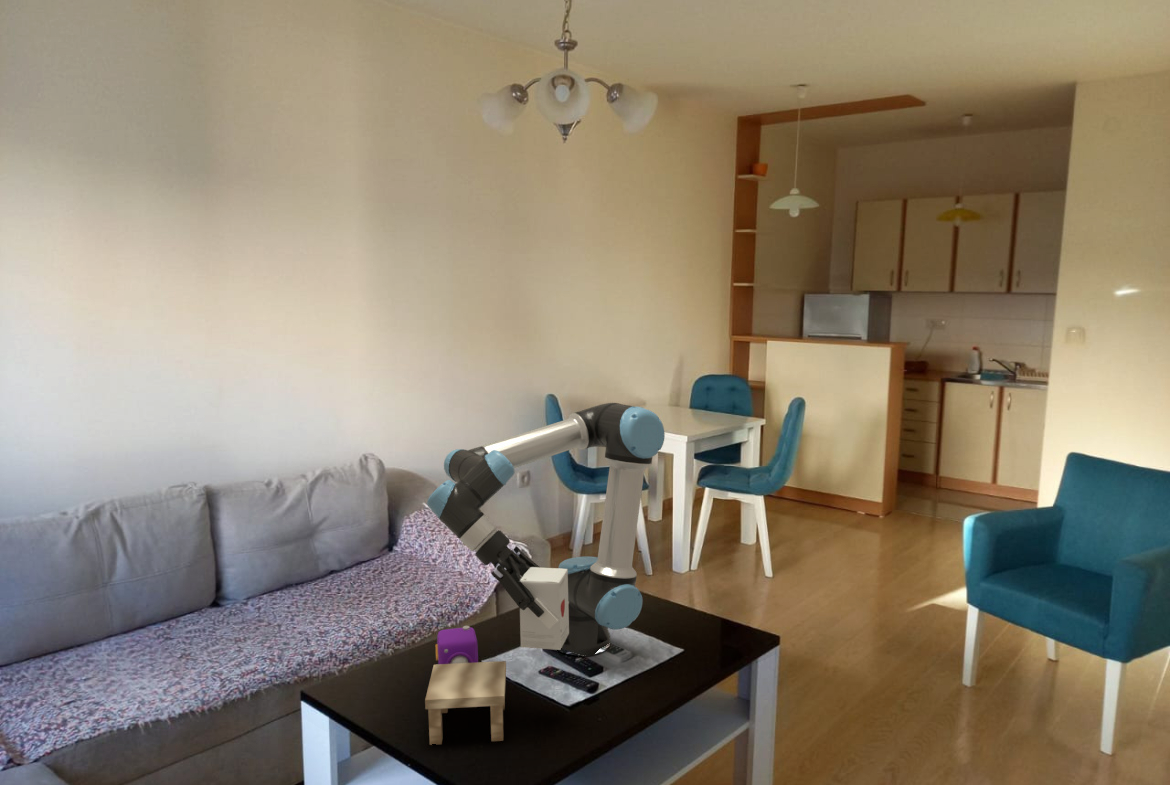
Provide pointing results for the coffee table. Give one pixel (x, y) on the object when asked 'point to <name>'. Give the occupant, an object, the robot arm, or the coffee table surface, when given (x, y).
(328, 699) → the coffee table surface
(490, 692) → the low wooden platform
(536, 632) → the supplement box
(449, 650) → the toy camera
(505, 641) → the coffee table surface
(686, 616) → the coffee table surface
